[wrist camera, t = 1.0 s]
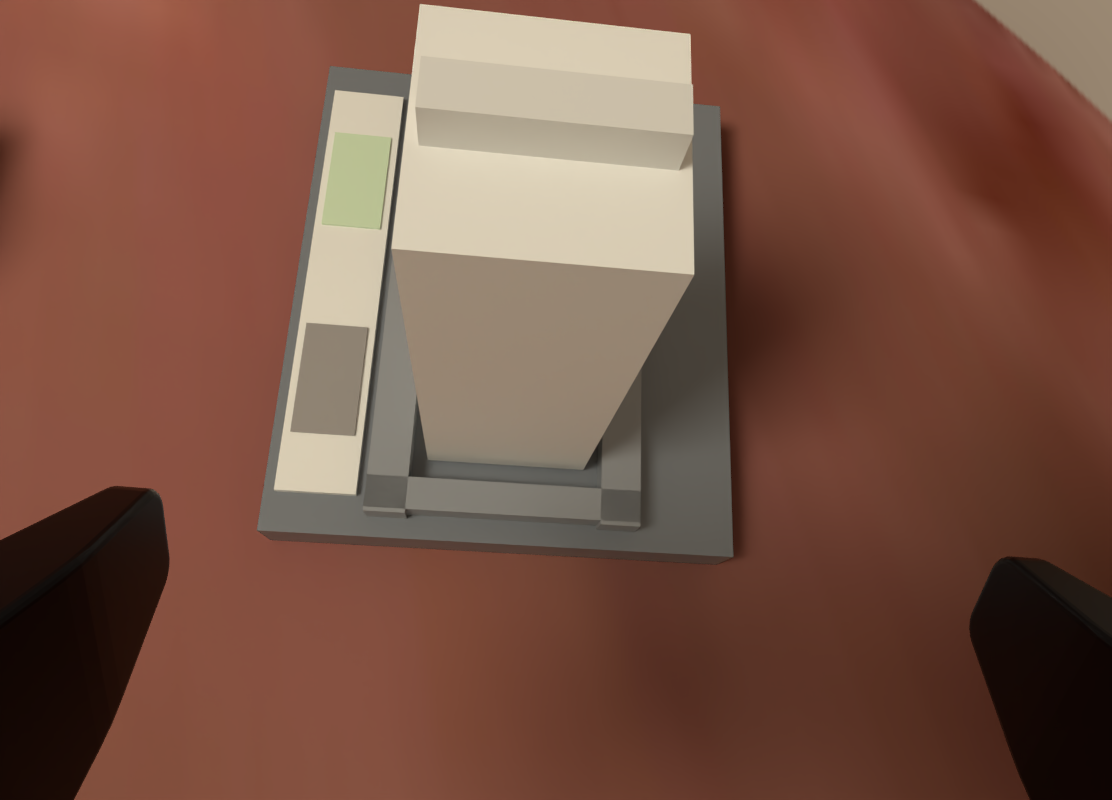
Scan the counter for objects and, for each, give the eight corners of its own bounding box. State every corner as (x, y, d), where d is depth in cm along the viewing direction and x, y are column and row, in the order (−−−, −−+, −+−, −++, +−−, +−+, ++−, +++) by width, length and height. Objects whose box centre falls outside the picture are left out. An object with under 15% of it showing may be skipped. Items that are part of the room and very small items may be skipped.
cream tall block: (582, 470, 21) (711, 244, 10) (428, 459, 21) (386, 215, 10) (587, 328, 23) (704, -9, 12) (441, 316, 22) (416, -42, 11)
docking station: (716, 564, 23) (743, 552, 20) (270, 539, 22) (248, 524, 19) (706, 136, 27) (727, 89, 25) (337, 98, 26) (326, 46, 24)
